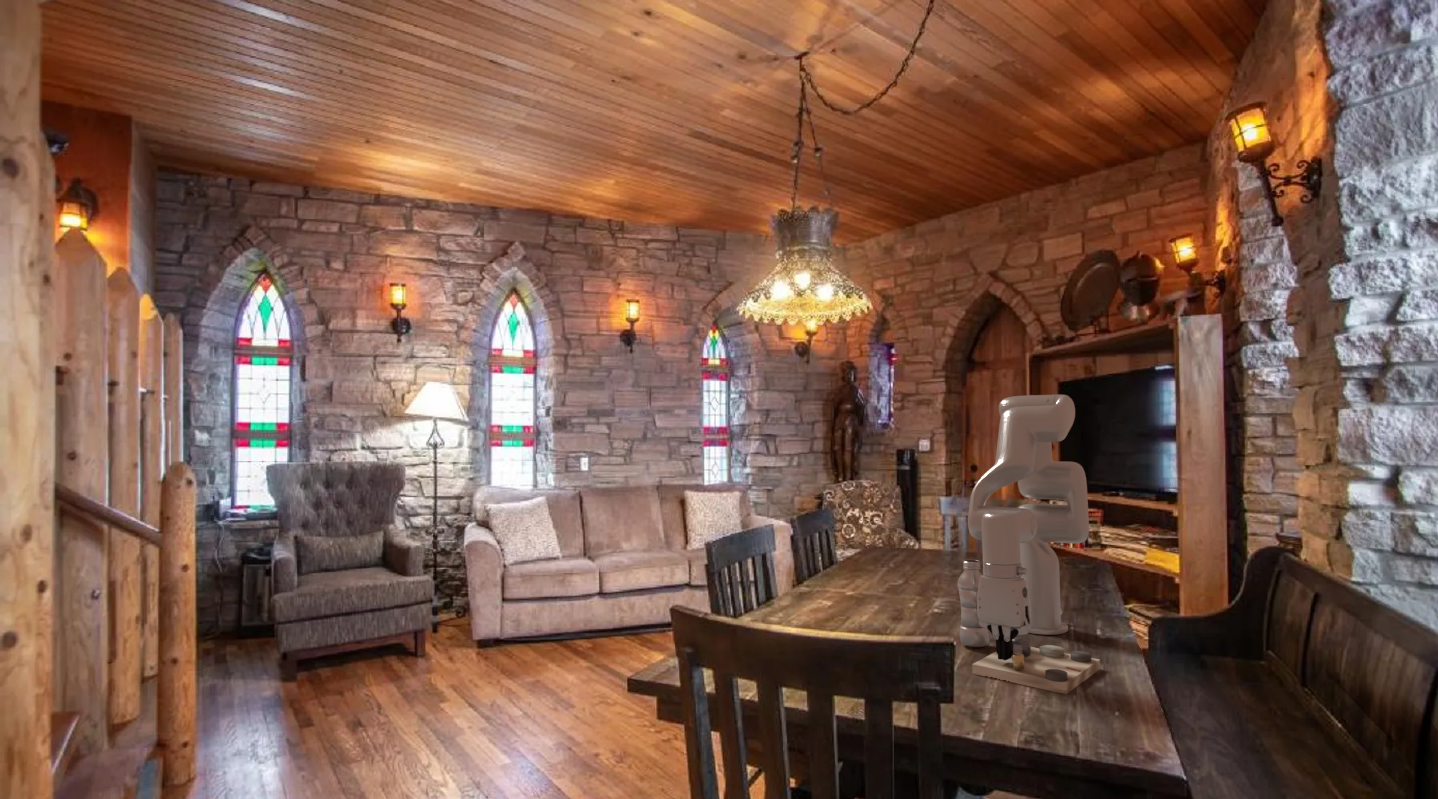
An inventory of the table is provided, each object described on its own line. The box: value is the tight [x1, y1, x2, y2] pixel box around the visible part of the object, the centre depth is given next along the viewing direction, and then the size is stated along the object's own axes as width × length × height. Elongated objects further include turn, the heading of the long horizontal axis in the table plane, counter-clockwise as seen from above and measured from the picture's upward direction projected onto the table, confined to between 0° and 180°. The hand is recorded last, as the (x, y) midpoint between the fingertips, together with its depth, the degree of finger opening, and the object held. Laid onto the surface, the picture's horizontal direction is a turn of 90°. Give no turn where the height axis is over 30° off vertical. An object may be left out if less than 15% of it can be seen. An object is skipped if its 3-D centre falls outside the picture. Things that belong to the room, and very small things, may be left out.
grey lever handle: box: [1012, 635, 1032, 669], centre depth 162 cm, size 15×5×3 cm, turn 159°
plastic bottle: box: [957, 559, 990, 648], centre depth 181 cm, size 6×7×20 cm
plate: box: [971, 644, 1101, 695], centre depth 161 cm, size 20×19×3 cm
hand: (1004, 658), depth 161 cm, fingers closed
